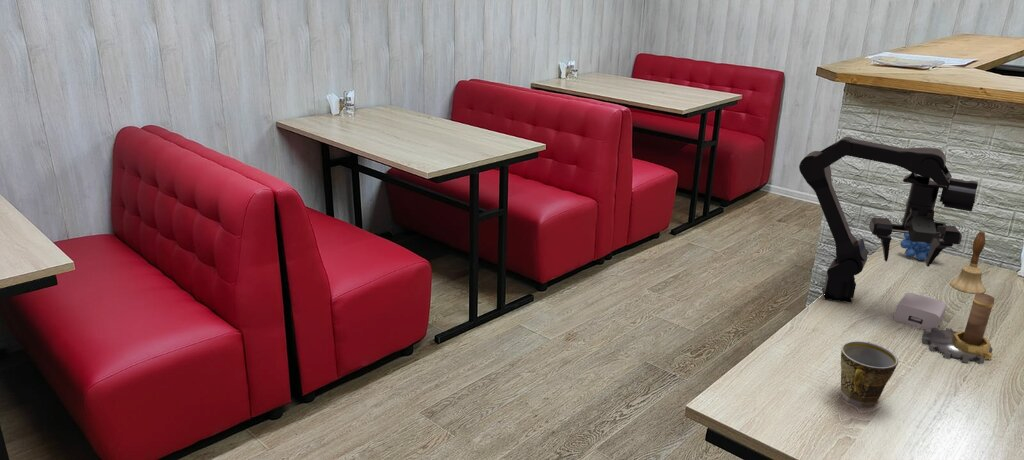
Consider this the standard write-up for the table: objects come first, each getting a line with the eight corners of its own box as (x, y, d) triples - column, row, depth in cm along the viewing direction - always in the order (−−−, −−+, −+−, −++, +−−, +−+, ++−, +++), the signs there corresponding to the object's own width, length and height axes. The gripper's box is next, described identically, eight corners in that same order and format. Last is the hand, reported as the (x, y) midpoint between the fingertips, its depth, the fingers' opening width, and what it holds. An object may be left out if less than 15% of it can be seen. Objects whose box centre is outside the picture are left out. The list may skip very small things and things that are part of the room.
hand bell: (954, 291, 189) (969, 235, 183) (946, 278, 196) (961, 224, 190) (989, 296, 186) (1006, 239, 181) (980, 283, 194) (996, 228, 188)
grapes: (944, 260, 208) (954, 222, 203) (940, 268, 203) (951, 229, 198) (900, 250, 214) (909, 213, 210) (895, 257, 209) (905, 219, 205)
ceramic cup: (840, 377, 148) (850, 335, 144) (892, 396, 142) (903, 352, 139) (820, 405, 139) (830, 361, 135) (875, 426, 133) (887, 381, 129)
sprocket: (929, 357, 157) (933, 344, 155) (915, 328, 169) (918, 316, 168) (1000, 368, 153) (1004, 355, 152) (980, 337, 165) (984, 325, 164)
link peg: (967, 351, 157) (982, 300, 152) (956, 342, 160) (970, 293, 156) (983, 351, 157) (999, 300, 153) (972, 342, 161) (987, 292, 156)
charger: (947, 311, 178) (935, 333, 167) (907, 299, 184) (892, 320, 173) (952, 294, 176) (940, 315, 166) (911, 283, 182) (897, 303, 171)
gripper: (884, 208, 162) (870, 271, 167) (976, 218, 157) (958, 282, 163) (875, 194, 172) (862, 253, 177) (962, 203, 167) (945, 263, 173)
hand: (906, 263), depth 172 cm, fingers open, 9 cm apart
